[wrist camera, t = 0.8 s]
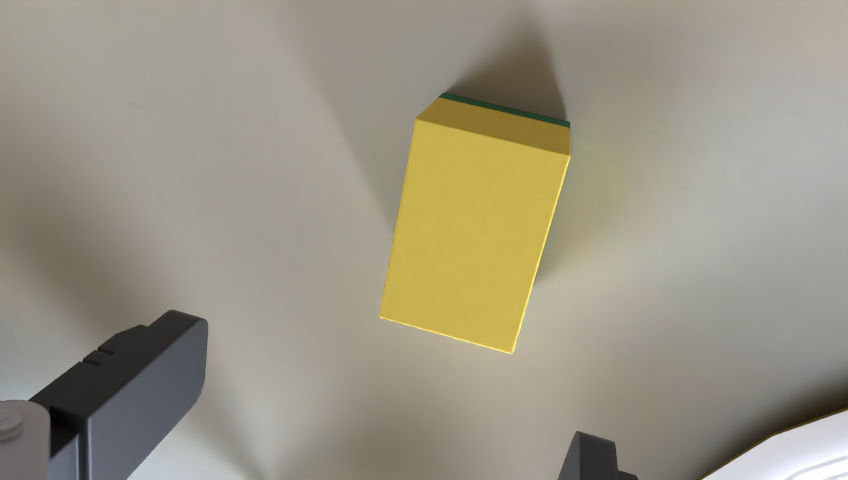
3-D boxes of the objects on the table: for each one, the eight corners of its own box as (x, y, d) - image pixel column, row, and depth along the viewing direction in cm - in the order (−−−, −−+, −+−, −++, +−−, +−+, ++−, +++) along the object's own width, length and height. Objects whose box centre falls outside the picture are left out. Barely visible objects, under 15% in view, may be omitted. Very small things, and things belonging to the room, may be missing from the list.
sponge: (442, 92, 25) (415, 117, 20) (570, 121, 24) (571, 154, 20) (408, 263, 28) (378, 318, 23) (521, 292, 27) (512, 355, 23)
